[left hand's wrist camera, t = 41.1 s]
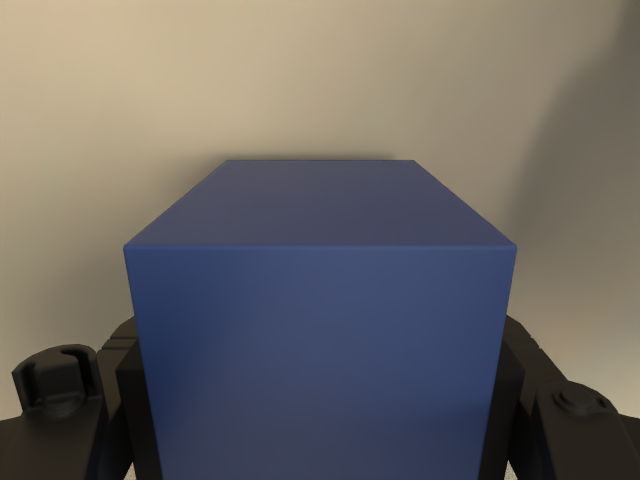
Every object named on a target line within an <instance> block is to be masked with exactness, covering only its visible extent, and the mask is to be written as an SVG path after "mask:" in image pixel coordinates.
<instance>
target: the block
mask: <svg viewBox="0 0 640 480" xmlns="http://www.w3.org/2000/svg"><path fill="white" fill-rule="evenodd" d="M123 251H124V256H125V262H126V268H127V274H128V280H129V286H130V292H131V297H132V303H133V309H134V315H135V321H136V327H137V333H138V338H139V344H140V350H141V356H142V362H143V368H144V373H145V379H146V385H147V391H148V397H149V403H150V409H151V414H152V420H153V426H154V432H155V438H156V444H157V450H158V455H159V461H160V467H161V473H162V479H163V480H478V476H479V470H480V465H481V459H482V453H483V447H484V441H485V435H486V429H487V423H488V418H489V412H490V406H491V400H492V394H493V388H494V382H495V376H496V371H497V365H498V359H499V353H500V347H501V341H502V335H503V329H504V323H505V318H506V312H507V306H508V300H509V294H510V288H511V282H512V276H513V271H514V265H515V259H516V253H517V246H516V245H515V244H514V243H513V242H512V241H511V240H509V239H508V238H507V237H506V236H505V235H503V234H502V233H501V232H500V231H498V230H497V229H496V228H495V227H494V226H492V225H491V224H490V223H489V222H488V221H486V220H485V219H484V218H483V217H482V216H480V215H479V214H478V213H477V212H476V211H474V210H473V209H472V208H471V207H470V206H468V205H467V204H466V203H465V202H464V201H462V200H461V199H460V198H459V197H457V196H456V195H455V194H454V193H453V192H451V191H450V190H449V189H448V188H447V187H445V186H444V185H443V184H442V183H441V182H439V181H438V180H437V179H436V178H435V177H433V176H432V175H431V174H430V173H429V172H427V171H426V170H425V169H424V168H423V167H421V166H420V165H419V164H418V163H416V162H415V161H414V160H227V161H225V162H224V163H223V164H222V165H220V166H219V167H218V168H217V169H216V170H214V171H213V172H212V173H211V174H210V175H208V176H207V177H206V178H205V179H204V180H202V181H201V182H200V183H199V184H198V185H196V186H195V187H194V188H193V189H191V190H190V191H189V192H188V193H187V194H185V195H184V196H183V197H182V198H181V199H179V200H178V201H177V202H176V203H175V204H173V205H172V206H171V207H170V208H169V209H167V210H166V211H165V212H164V213H163V214H161V215H160V216H159V217H158V218H157V219H155V220H154V221H153V222H152V223H150V224H149V225H148V226H147V227H146V228H144V229H143V230H142V231H141V232H140V233H138V234H137V235H136V236H135V237H134V238H132V239H131V240H130V241H129V242H128V243H126V244H125V245H124V248H123Z"/></svg>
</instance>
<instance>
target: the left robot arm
mask: <svg viewBox="0 0 640 480" xmlns="http://www.w3.org/2000/svg"><path fill="white" fill-rule="evenodd" d="M11 373H12V376H13V380H14V383H15V386H16V390H17V393H18V396H19V400H20V403H21V407H22V410H23V412H22V414H21V416H19V417H15V418H11V419H6V420H2V421H0V480H124V478H125V476H126V474H127V472H128V470H129V468H130V466H131V464H132V462H133V465H134V470H135V475H136V480H163V479H162V473H161V467H160V461H159V455H158V450H157V444H156V438H155V432H154V426H153V420H152V414H151V409H150V403H149V397H148V391H147V385H146V379H145V373H144V368H143V362H142V356H141V350H140V344H139V338H138V333H137V327H136V321H135V316H133V317H132V318H130V319H129V320H127V321H125V322H124V323H122V324H121V325H120V326H119V327H118V328H117V329H116V331H115V332H114V333H113V334H112V335H111V337H110V339H108V340H107V341H106V343H105V344H104V345H103V346H102V350H99V351H98V352H97V354H96V352H95V351H94V350H93V349H92V348H90V347H89V346H85V345H80V344H71V345H61V346H57V347H53V348H49V349H46V350H44V351H41V352H39V353H36V354H34V355H32V356H30V357H29V358H27V359H26V360H24V361H23V362H21V363H20V364H19V365H18V366H17V367H16V368H15V369H14V370H13V371H12V372H11ZM508 461H509V463H510V465H511V467H512V469H513V471H514V473H515V475H516V477H517V480H640V419H638V418H634V417H629V416H625V415H622V414H619V413H618V411H617V410H616V408H615V407H614V406H613V404H612V403H611V402H610V401H609V400H608V399H607V398H605V397H604V396H603V395H601V394H600V393H599V392H597V391H595V390H593V389H591V388H589V387H587V386H585V385H583V384H579V383H576V382H572V381H568V380H567V379H566V378H565V376H564V375H563V374H562V373H561V372H560V370H559V369H558V368H557V367H556V365H555V364H554V363H553V362H552V361H551V359H550V358H549V357H548V356H547V355H546V353H545V352H544V351H543V350H542V349H541V348H539V345H538V344H537V343H536V341H535V340H534V339H533V338H531V335H530V334H529V333H528V332H527V331H526V329H525V328H524V327H523V326H522V325H521V323H519V322H518V321H516V320H514V319H513V318H511V317H510V316H508V315H506V318H505V323H504V329H503V335H502V341H501V347H500V353H499V359H498V365H497V371H496V376H495V382H494V388H493V394H492V400H491V406H490V412H489V418H488V423H487V429H486V435H485V441H484V447H483V453H482V459H481V465H480V470H479V476H478V480H504V477H505V472H506V467H507V462H508Z"/></svg>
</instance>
